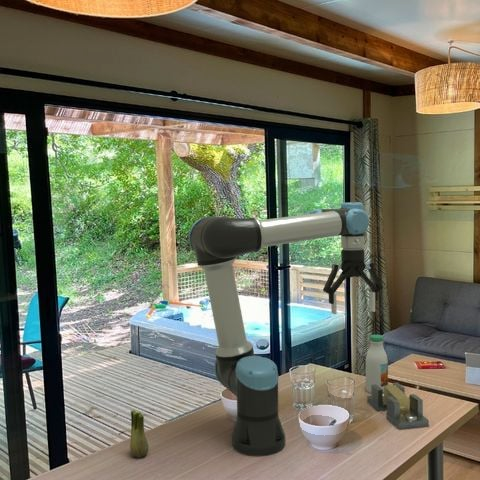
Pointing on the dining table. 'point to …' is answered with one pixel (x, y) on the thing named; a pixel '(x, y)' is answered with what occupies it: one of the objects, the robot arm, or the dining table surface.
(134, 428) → the fennel bulb
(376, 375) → the milk bottle
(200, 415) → the dining table surface
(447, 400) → the dining table surface
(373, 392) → the chain end far
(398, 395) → the link bar
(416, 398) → the bracket
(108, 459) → the dining table surface
